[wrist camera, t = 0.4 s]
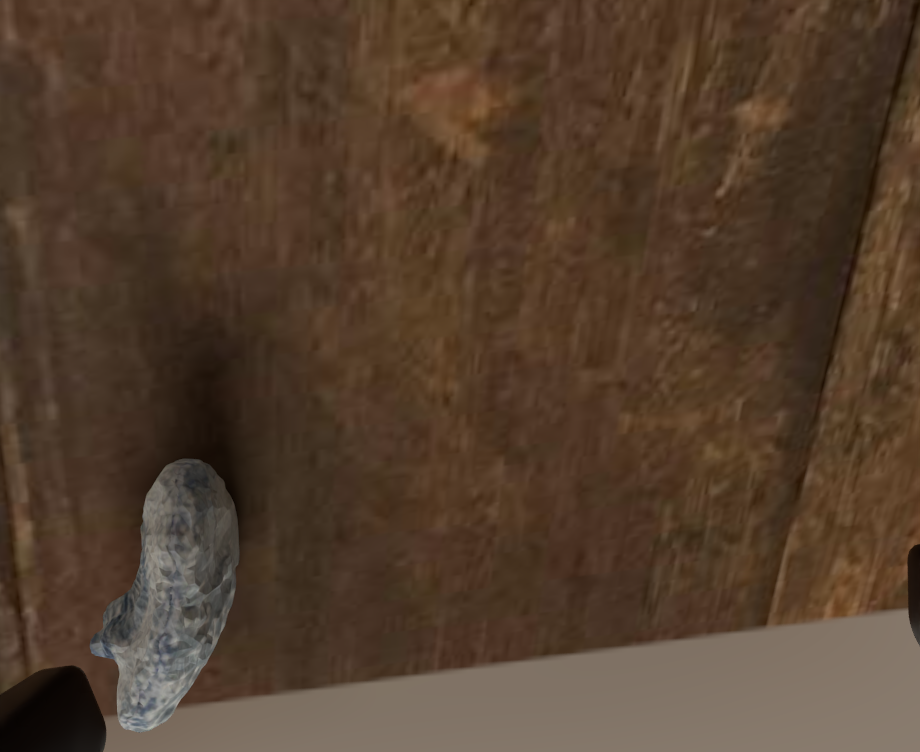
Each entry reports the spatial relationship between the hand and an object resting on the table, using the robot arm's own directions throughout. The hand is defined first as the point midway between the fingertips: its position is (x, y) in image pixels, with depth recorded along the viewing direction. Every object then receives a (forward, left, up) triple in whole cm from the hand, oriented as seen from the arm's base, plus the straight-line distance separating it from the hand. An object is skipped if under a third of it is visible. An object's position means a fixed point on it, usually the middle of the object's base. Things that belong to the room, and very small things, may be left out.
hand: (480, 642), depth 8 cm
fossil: (-6, +10, -14) cm, 19 cm away
